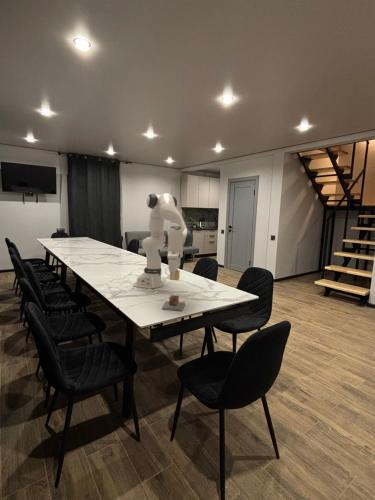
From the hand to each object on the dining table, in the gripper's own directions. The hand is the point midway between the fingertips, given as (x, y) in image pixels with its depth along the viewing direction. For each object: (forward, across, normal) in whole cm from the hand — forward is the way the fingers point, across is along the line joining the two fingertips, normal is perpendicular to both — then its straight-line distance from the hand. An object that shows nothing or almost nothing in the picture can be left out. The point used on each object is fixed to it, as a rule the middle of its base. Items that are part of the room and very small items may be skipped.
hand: (174, 276), depth 160 cm
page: (+19, -12, -1) cm, 22 cm away
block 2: (+18, 0, 0) cm, 18 cm away
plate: (+19, 0, 0) cm, 19 cm away
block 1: (+2, 0, 0) cm, 2 cm away
